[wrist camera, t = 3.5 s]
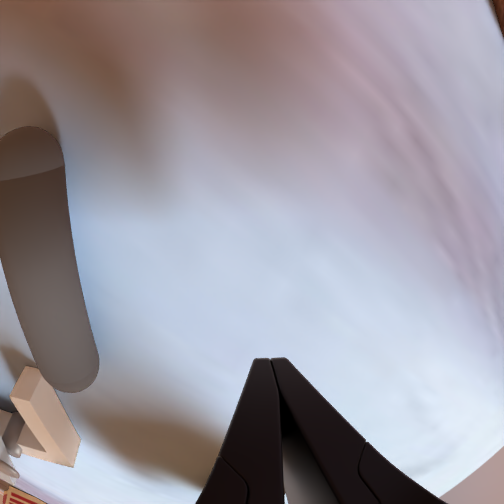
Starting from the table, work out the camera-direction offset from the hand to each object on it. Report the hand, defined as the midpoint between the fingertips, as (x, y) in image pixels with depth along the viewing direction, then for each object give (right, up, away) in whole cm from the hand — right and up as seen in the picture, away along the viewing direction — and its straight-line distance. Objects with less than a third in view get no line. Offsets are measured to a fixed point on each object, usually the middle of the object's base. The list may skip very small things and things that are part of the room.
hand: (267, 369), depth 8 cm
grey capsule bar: (-9, +3, +4) cm, 10 cm away
